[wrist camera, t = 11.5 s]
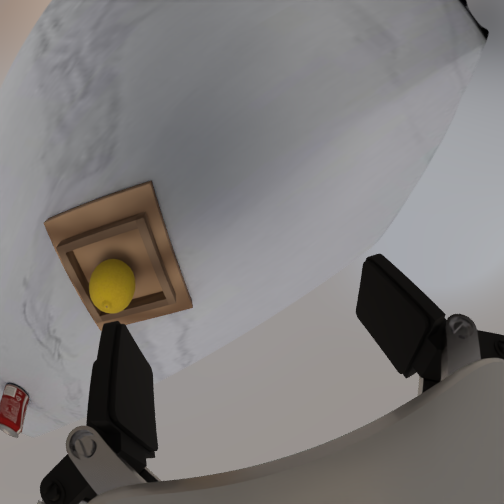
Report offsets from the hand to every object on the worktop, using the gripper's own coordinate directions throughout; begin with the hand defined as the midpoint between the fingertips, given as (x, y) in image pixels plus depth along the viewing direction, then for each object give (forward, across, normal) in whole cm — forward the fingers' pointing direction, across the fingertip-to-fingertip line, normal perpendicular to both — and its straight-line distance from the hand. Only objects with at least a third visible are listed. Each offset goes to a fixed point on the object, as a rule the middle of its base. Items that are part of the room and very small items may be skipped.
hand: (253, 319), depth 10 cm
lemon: (+23, +13, +9) cm, 28 cm away
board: (+24, +13, +10) cm, 29 cm away
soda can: (+24, +55, +34) cm, 69 cm away
